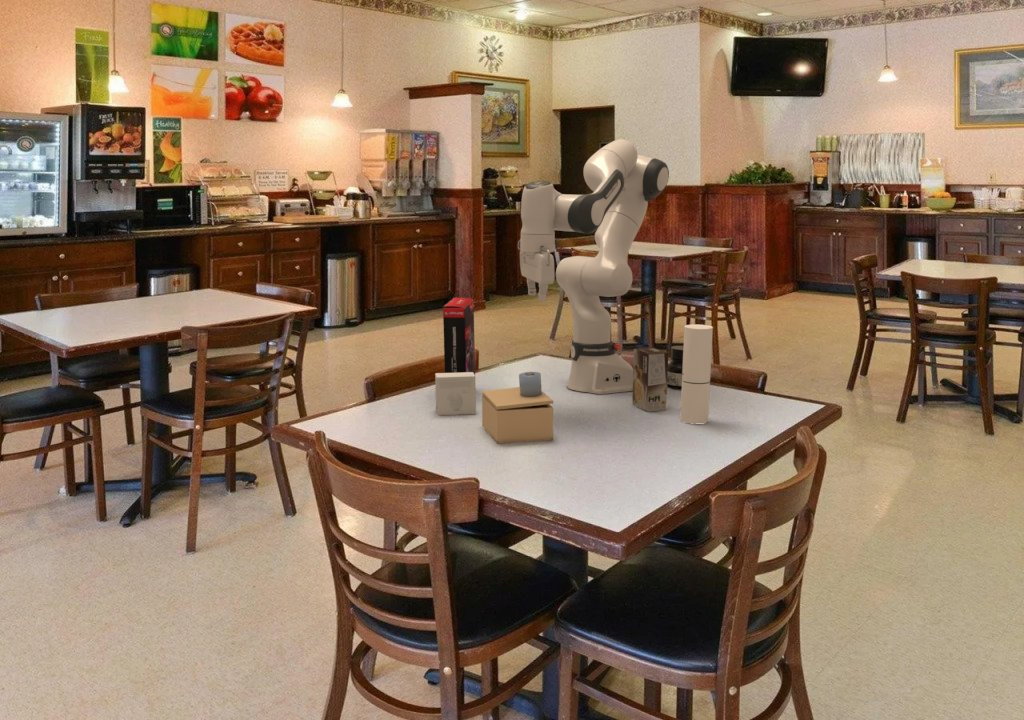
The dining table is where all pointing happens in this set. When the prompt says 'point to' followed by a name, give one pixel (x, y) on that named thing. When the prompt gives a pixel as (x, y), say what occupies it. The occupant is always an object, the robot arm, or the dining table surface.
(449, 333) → the graphics card box
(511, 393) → the lid flap
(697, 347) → the cylindrical container
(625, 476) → the dining table surface
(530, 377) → the tape roll
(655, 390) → the coffee box
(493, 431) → the carton
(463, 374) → the skincare box
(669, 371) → the ink bottle
